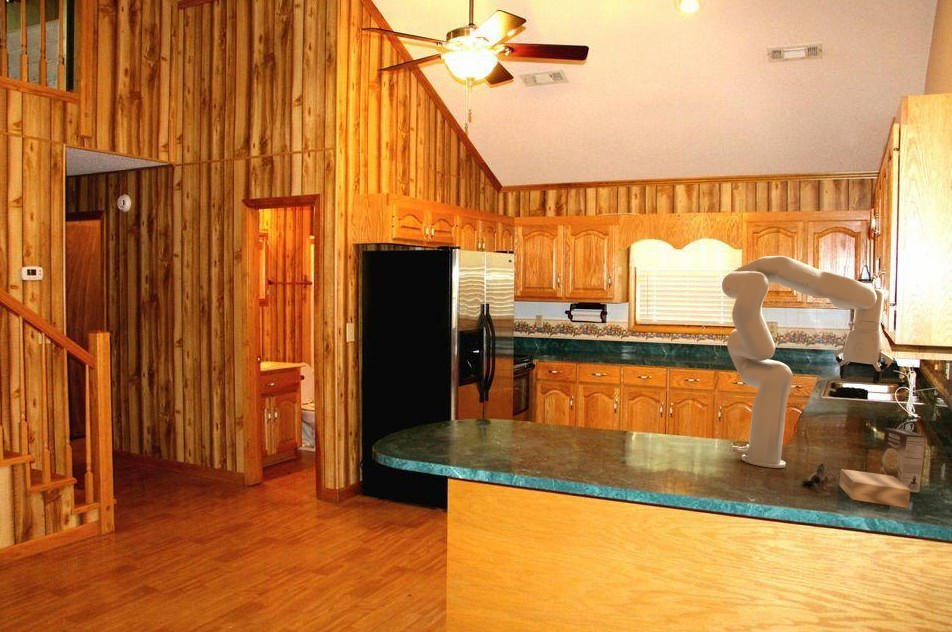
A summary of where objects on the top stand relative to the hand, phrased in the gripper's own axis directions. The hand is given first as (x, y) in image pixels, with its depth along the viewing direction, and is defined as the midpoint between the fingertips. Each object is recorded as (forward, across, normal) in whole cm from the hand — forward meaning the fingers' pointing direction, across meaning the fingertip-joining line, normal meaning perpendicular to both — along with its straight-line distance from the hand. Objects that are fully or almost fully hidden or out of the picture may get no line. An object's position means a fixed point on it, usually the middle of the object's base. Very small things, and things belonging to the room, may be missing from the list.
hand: (859, 381), depth 223 cm
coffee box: (+28, +19, -14) cm, 36 cm away
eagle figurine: (+28, +7, -41) cm, 50 cm away
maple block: (+28, +19, -33) cm, 47 cm away
